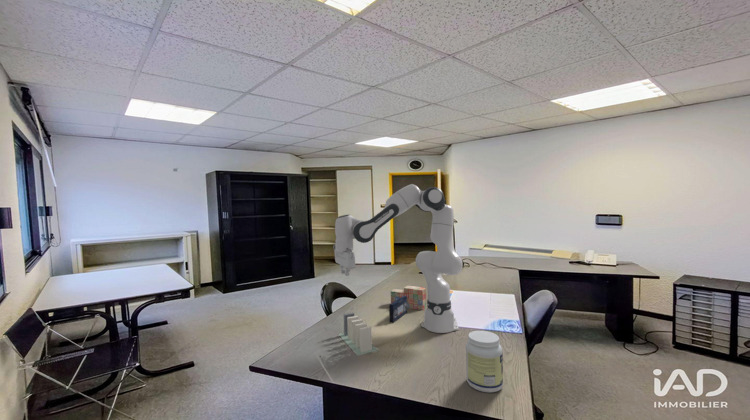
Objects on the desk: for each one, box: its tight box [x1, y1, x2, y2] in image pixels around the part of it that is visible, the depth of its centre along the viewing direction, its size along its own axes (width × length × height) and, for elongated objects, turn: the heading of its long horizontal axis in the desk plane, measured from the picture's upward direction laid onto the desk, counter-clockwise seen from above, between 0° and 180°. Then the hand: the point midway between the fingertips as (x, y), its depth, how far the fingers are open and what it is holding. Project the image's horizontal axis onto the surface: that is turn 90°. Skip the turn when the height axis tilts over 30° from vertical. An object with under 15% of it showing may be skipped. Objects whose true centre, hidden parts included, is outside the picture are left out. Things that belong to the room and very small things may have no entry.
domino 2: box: [347, 315, 359, 339], centre depth 151 cm, size 2×5×10 cm, turn 116°
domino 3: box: [351, 318, 363, 344], centre depth 146 cm, size 2×5×10 cm, turn 116°
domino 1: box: [343, 312, 355, 336], centre depth 156 cm, size 2×5×10 cm, turn 116°
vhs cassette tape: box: [388, 296, 408, 324], centre depth 178 cm, size 18×3×10 cm, turn 148°
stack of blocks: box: [390, 285, 427, 311], centre depth 197 cm, size 21×6×12 cm, turn 62°
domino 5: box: [359, 325, 373, 353], centre depth 138 cm, size 2×5×10 cm, turn 116°
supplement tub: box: [465, 330, 504, 393], centre depth 111 cm, size 12×12×17 cm
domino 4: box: [355, 322, 368, 348], centre depth 142 cm, size 2×5×10 cm, turn 116°
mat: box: [338, 332, 379, 357], centre depth 147 cm, size 25×10×1 cm, turn 26°
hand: (345, 274), depth 159 cm, fingers open, 4 cm apart
